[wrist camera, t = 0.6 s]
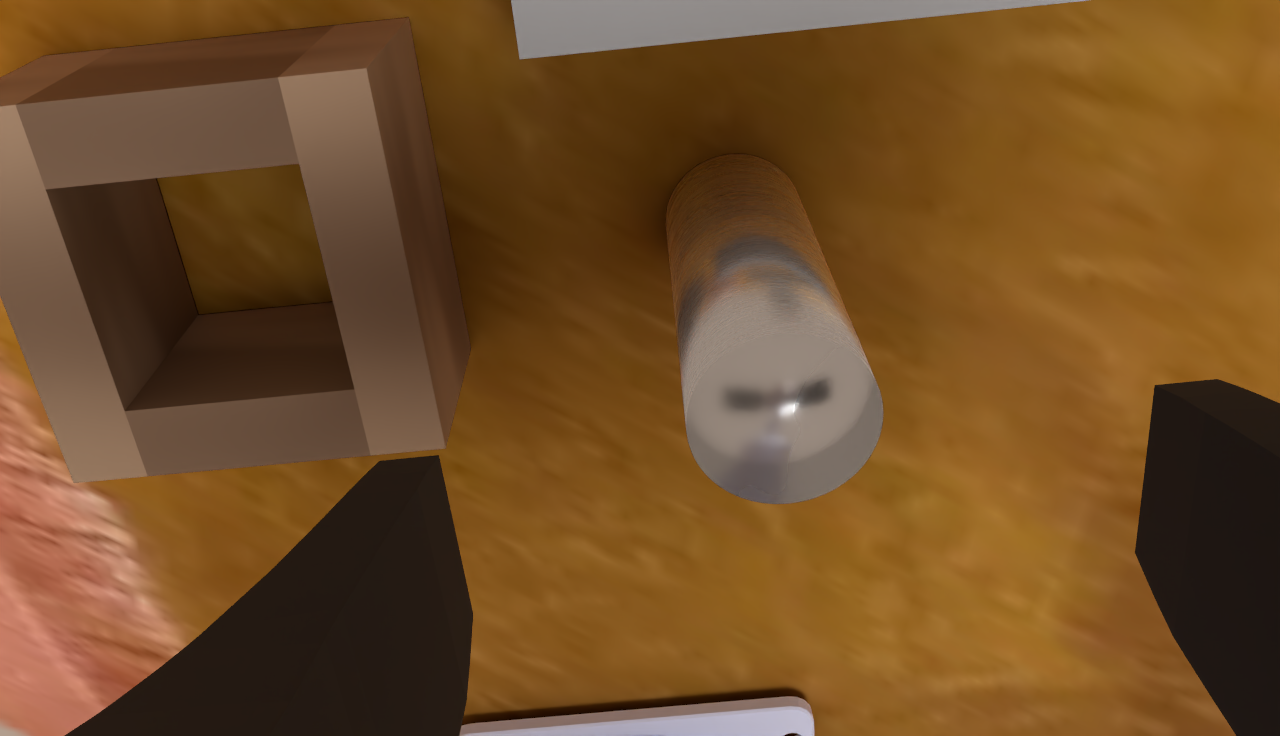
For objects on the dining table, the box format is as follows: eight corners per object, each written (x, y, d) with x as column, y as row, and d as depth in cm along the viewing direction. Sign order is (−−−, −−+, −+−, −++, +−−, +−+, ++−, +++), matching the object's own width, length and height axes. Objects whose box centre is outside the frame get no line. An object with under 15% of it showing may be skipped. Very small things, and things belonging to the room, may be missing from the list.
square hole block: (470, 348, 21) (445, 448, 18) (152, 379, 21) (73, 483, 18) (409, 17, 18) (366, 68, 15) (44, 55, 19) (-72, 113, 16)
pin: (804, 276, 21) (883, 494, 14) (671, 288, 21) (694, 512, 15) (800, 146, 20) (883, 324, 13) (659, 161, 20) (678, 344, 13)
